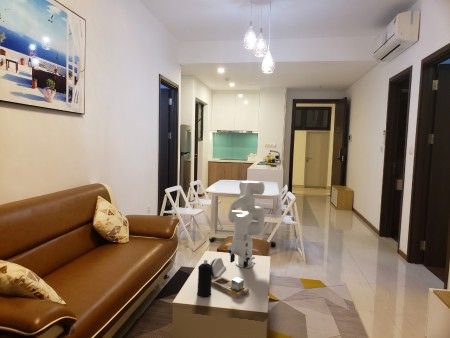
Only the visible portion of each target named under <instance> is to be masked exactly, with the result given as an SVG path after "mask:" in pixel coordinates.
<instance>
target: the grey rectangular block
mask: <svg viewBox="0 0 450 338" xmlns="http://www.w3.org/2000/svg"><path fill="white" fill-rule="evenodd" d="M231 281H232V284H231V290H233V291H235V292H237V293H238V292H240V291H242V290H243V287H245V286H244V282H245V279H243V278H240V277H239V276H236V277H234V278H232V279H231Z"/></svg>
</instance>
